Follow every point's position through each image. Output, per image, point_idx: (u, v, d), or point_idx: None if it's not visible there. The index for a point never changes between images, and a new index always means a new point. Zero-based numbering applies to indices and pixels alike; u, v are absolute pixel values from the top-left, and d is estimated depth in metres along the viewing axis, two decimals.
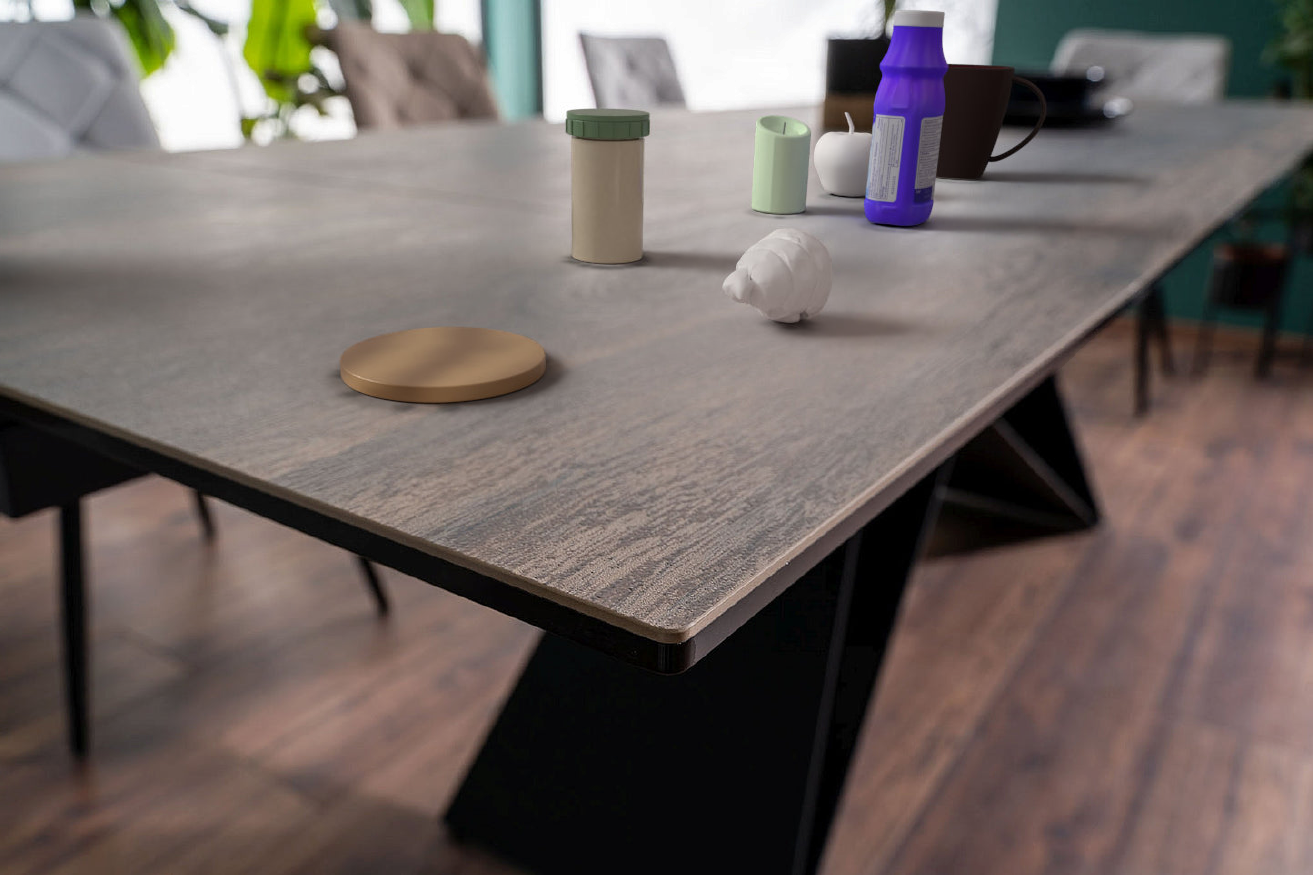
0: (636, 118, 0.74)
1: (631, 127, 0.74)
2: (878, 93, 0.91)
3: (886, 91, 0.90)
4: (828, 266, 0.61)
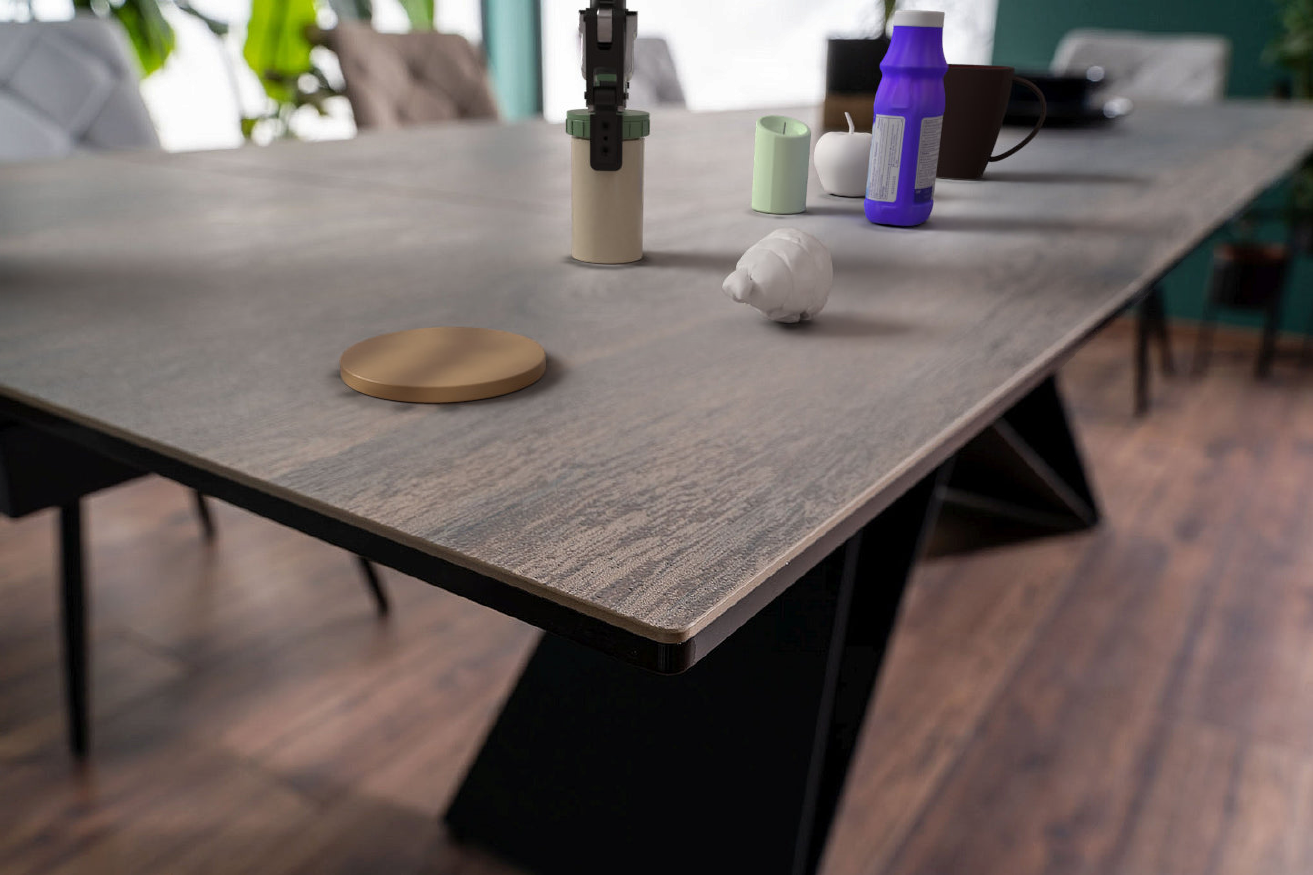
0: (636, 118, 0.74)
1: (631, 127, 0.74)
2: (878, 93, 0.91)
3: (886, 91, 0.90)
4: (828, 266, 0.61)
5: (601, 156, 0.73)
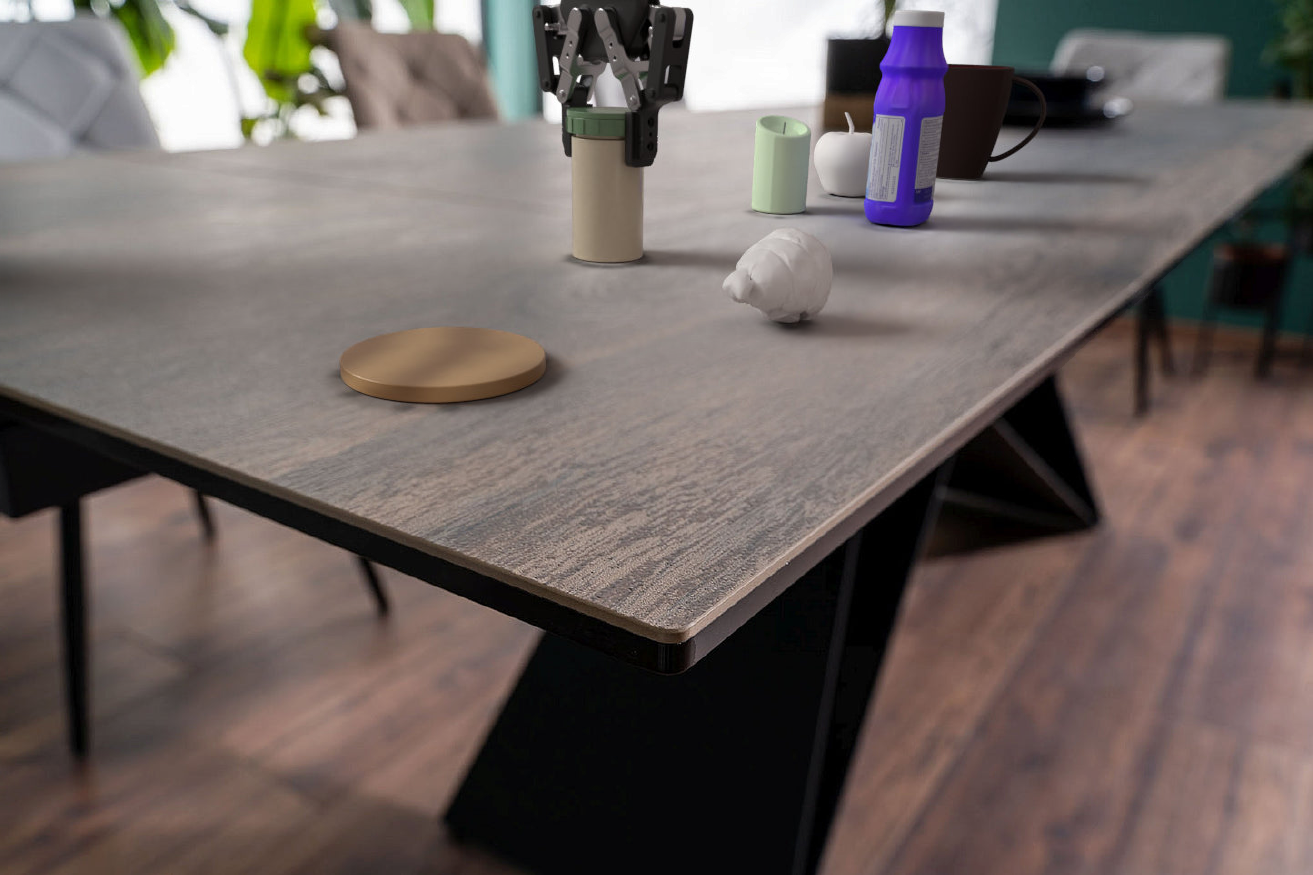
0: None
1: None
2: (878, 93, 0.91)
3: (886, 91, 0.90)
4: (828, 266, 0.61)
5: (646, 152, 0.74)
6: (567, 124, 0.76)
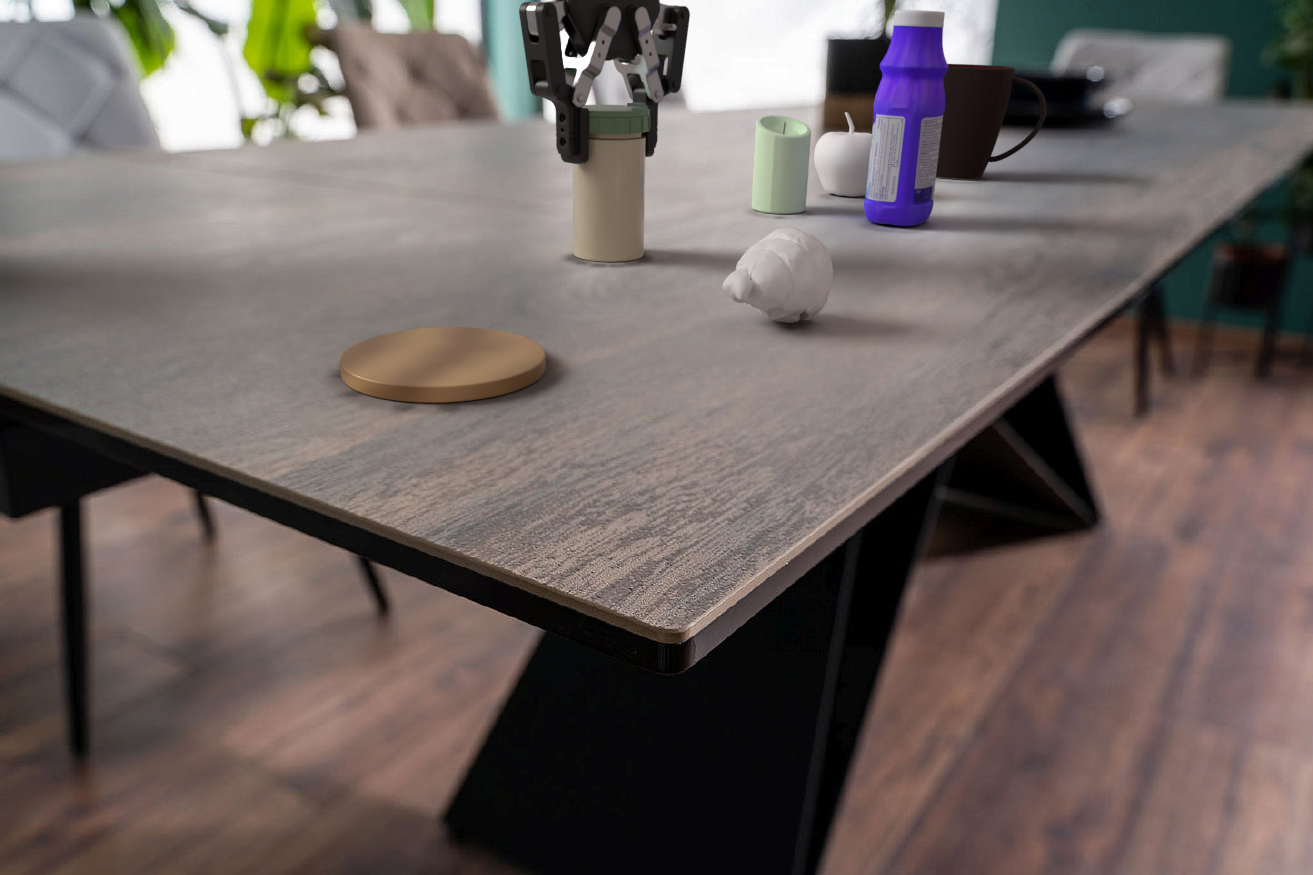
0: None
1: None
2: (878, 93, 0.91)
3: (886, 91, 0.90)
4: (828, 266, 0.61)
5: None
6: (617, 126, 0.74)
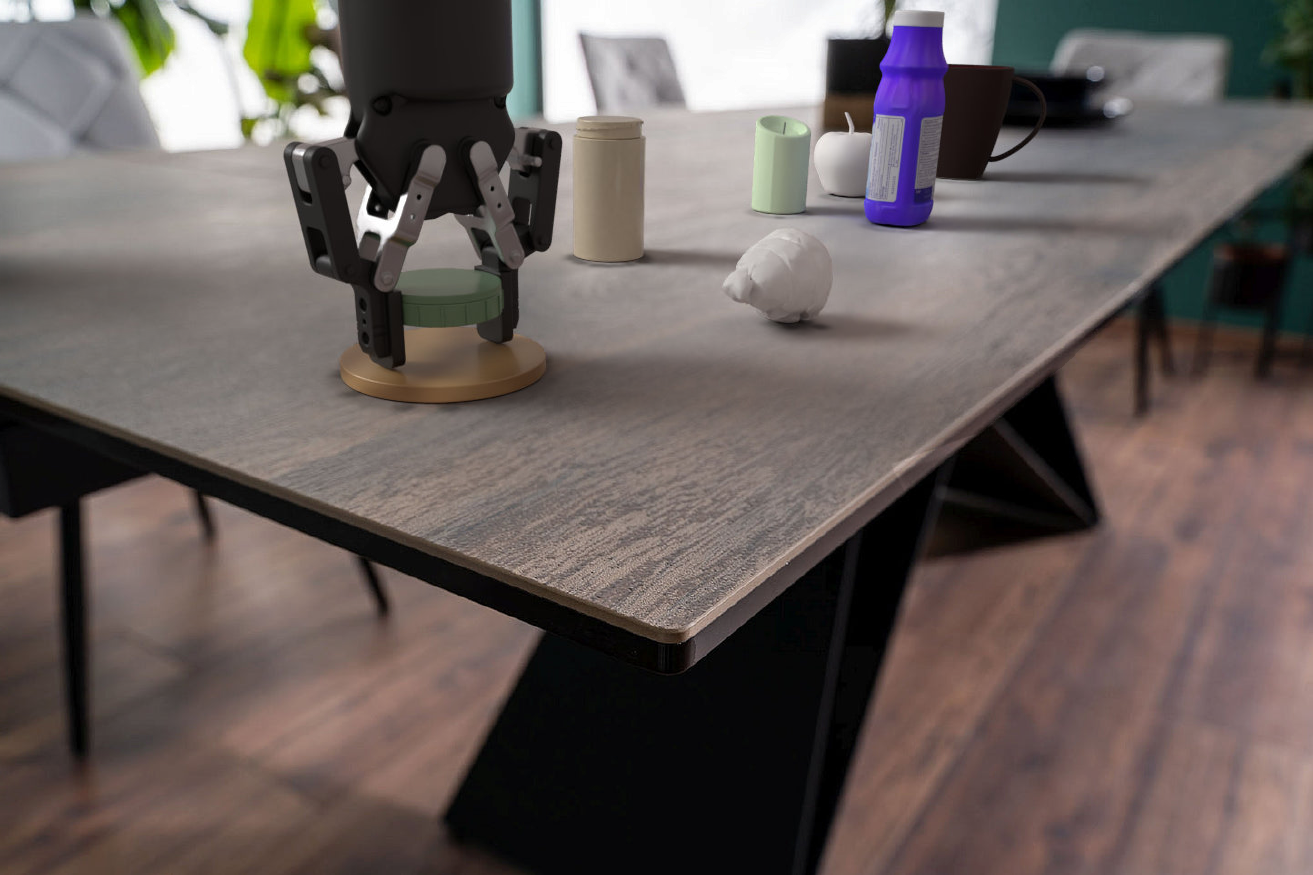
0: None
1: None
2: (878, 93, 0.91)
3: (886, 91, 0.90)
4: (828, 266, 0.61)
5: None
6: (446, 316, 0.50)
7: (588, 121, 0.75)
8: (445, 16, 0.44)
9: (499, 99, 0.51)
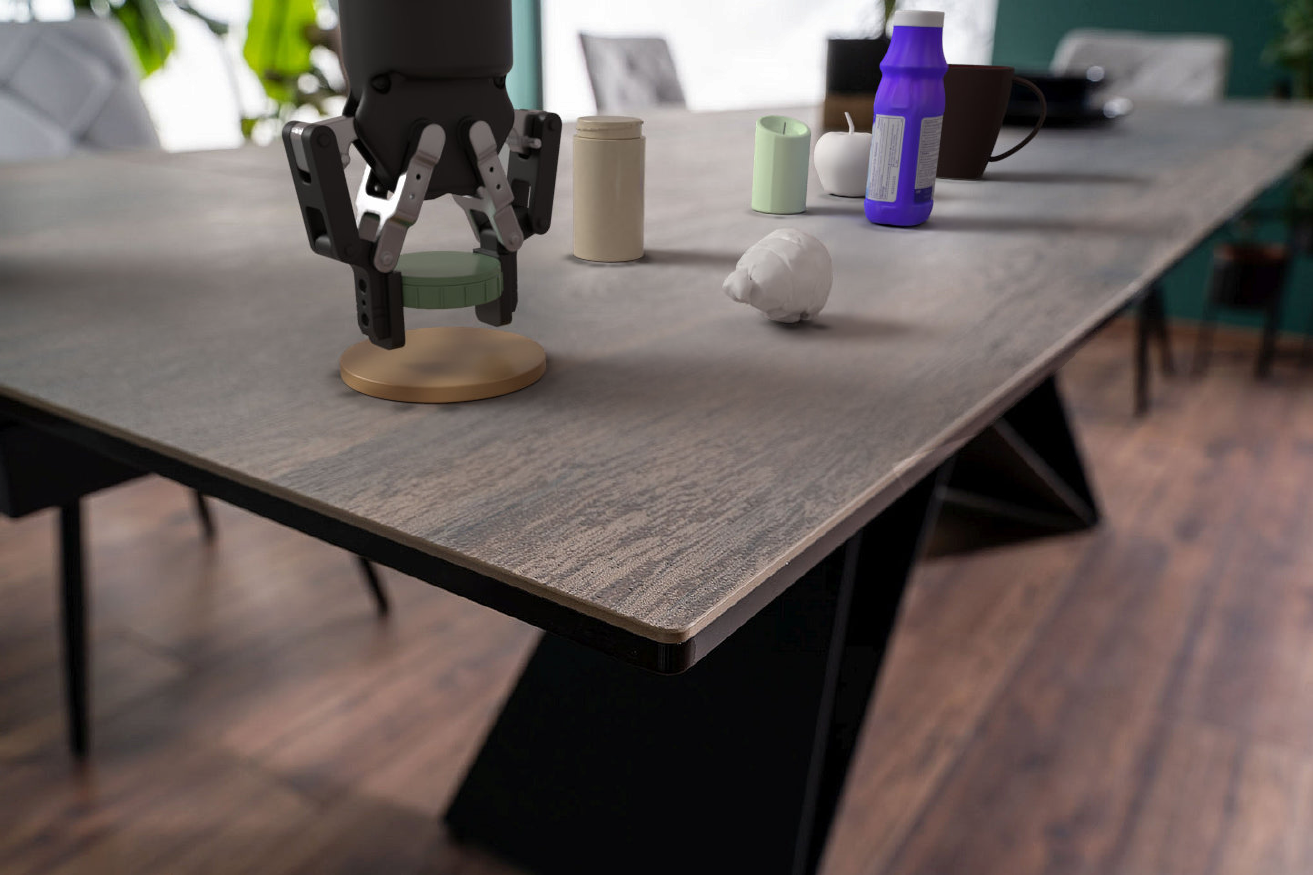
0: None
1: None
2: (878, 93, 0.91)
3: (886, 91, 0.90)
4: (828, 266, 0.61)
5: None
6: (445, 298, 0.50)
7: (588, 121, 0.75)
8: None
9: (499, 79, 0.50)
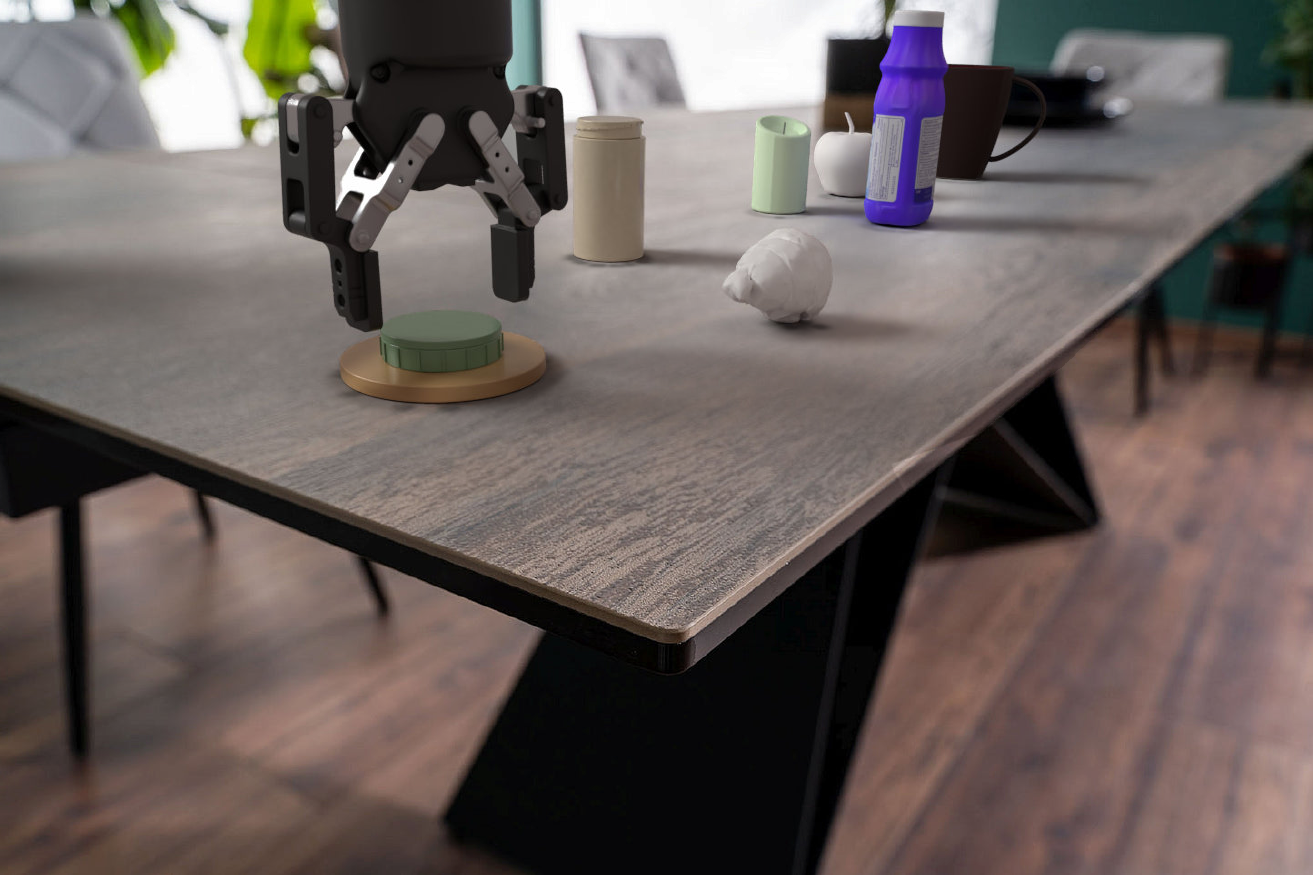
0: None
1: None
2: (878, 93, 0.91)
3: (886, 91, 0.90)
4: (828, 266, 0.61)
5: None
6: (447, 361, 0.51)
7: (588, 121, 0.75)
8: None
9: (498, 69, 0.50)
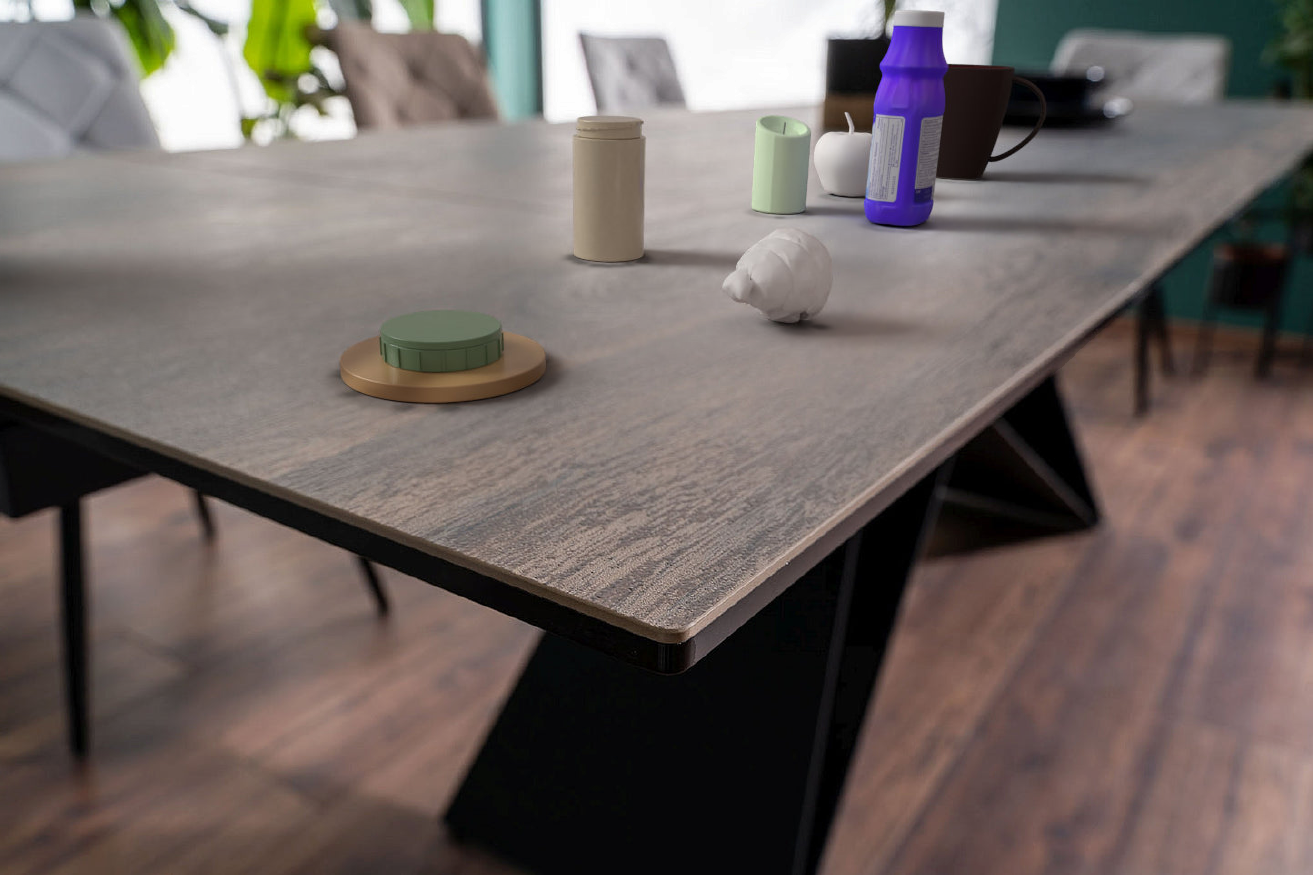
0: None
1: None
2: (878, 93, 0.91)
3: (886, 91, 0.90)
4: (828, 266, 0.61)
5: None
6: (447, 361, 0.51)
7: (588, 121, 0.75)
8: None
9: None
